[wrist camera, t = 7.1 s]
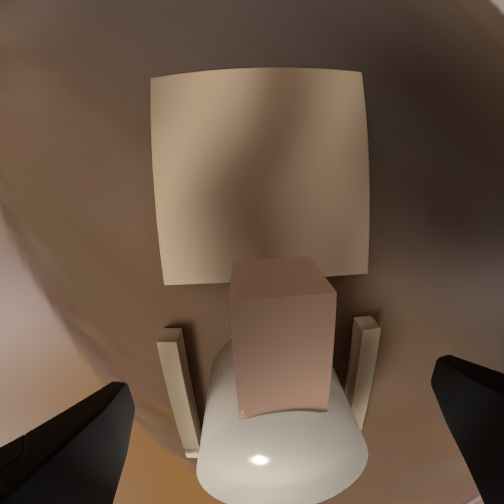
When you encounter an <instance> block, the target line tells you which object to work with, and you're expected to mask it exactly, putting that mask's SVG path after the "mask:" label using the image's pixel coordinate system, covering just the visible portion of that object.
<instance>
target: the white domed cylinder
mask: <svg viewBox="0 0 504 504" xmlns="http://www.w3.org/2000/svg"><path fill="white" fill-rule="evenodd" d="M336 301H337V292H336V291H335V289H334V288H333V287H332V285H331V284H330V283H329V281H328V280H327V279H326V278H325V276H324V275H323V274H322V272H321V271H320V270H319V268H318V267H317V266H316V265H315V263H314V262H313V261H312V259H311V258H310V257H309V256H306V257H289V258H271V259H253V260H235V261H233V266H232V273H231V280H230V288H229V295H228V307H229V318H230V329H231V340H230V341H229V342H228V343H227V344H225V345H224V347H223V348H222V349H221V350H220V351H219V353H218V354H217V356H216V358H215V360H214V362H213V365H212V369H211V375H210V382H209V388H208V394H207V401H206V407H205V414H204V421H203V427H202V434H201V441H200V448H199V455H198V462H197V477H198V480H199V482H200V484H201V485H202V487H203V488H204V489H205V490H206V491H207V492H208V493H209V494H210V495H212V496H213V497H214V498H216V499H218V500H220V501H222V502H224V503H226V504H317V503H320V502H322V501H325V500H327V499H329V498H331V497H333V496H335V495H337V494H338V493H340V492H342V491H343V490H345V489H346V488H347V487H349V486H350V485H351V484H352V483H353V482H354V481H355V480H356V479H357V478H358V477H359V476H360V475H361V473H362V471H363V470H364V468H365V466H366V464H367V460H368V449H367V446H366V443H365V441H364V438H363V436H362V433H361V431H360V429H359V426H358V424H357V421H356V419H355V417H354V414H353V412H352V410H351V407H350V405H349V403H348V400H347V398H346V396H345V393H344V391H343V389H342V386H341V384H340V382H339V379H338V377H337V375H336V372H335V370H334V368H333V366H332V361H333V349H334V335H335V320H336Z"/></svg>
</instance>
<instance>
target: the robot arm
mask: <svg viewBox="0 0 504 504" xmlns="http://www.w3.org/2000/svg"><path fill="white" fill-rule="evenodd" d="M431 385H432V388H433V391H434V393H435V396H436V398H437V400H438V403H439V405H440V408H441V411H442V413H443V416H444V418H445V421H446V423H447V425H448V427H449V429H450V431H451V433H452V435H453V437H454V439H455V441H456V443H457V445H458V447H459V449H460V451H461V453H462V455H463V457H464V460H465V462H466V464H467V466H468V468H469V470H470V472H471V475H472V477H473V479H474V481H475V483H476V486H477V488H478V490H479V493H480V495H481V497H482V500H483V502H484V504H504V374H503V373H500V372H498V371H495V370H492V369H489V368H486V367H483V366H480V365H477V364H475V363H472V362H469V361H466V360H463V359H460V358H458V357H455V356H452V355H446V356H442V357H439V358H438V359H437V361H436V364H435V368H434V371H433V375H432V378H431ZM134 413H135V406H134V402H133V399H132V396H131V393H130V390H129V387H128V385H127V384H126V383H125V382H111V383H110V384H108V385H106V386H105V387H103V388H102V389H100V390H98V391H97V392H95V393H94V394H92V395H90V396H88V397H87V398H85V399H84V400H82V401H80V402H79V403H77V404H75V405H74V406H72V407H70V408H69V409H67V410H65V411H64V412H62V413H60V414H59V415H57V416H55V417H53V418H52V419H50V420H48V421H47V422H45V423H43V424H42V425H40V426H38V427H37V428H35V429H33V430H31V431H29V432H28V433H26V434H25V435H22V436H21V437H19V438H17V439H15V440H14V441H12V442H10V443H8V444H6V445H4V446H2V447H0V504H113V500H114V497H115V493H116V490H117V486H118V483H119V479H120V476H121V472H122V469H123V466H124V462H125V459H126V455H127V451H128V446H129V439H130V434H131V429H132V423H133V418H134Z"/></svg>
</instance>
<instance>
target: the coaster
mask: <svg viewBox="0 0 504 504" xmlns="http://www.w3.org/2000/svg"><path fill="white" fill-rule="evenodd" d="M151 139H152V162H153V179H154V193H155V206H156V217H157V227H158V237H159V246H160V255H161V263H162V271H163V279H164V285H181V284H206V283H228V282H230V280H231V273H232V266H233V261H235V260H253V259H271V258H289V257H306V256H309V257H310V258H311V259H312V261H313V262H314V263H315V265H316V266H317V267H318V268H319V270H320V271H321V272H322V274H323V275H324V276H325V277H329V276H343V275H356V274H368V257H369V227H370V181H369V152H368V134H367V120H366V108H365V97H364V88H363V79H362V72H355V71H345V70H333V69H316V68H240V69H224V70H211V71H201V72H192V73H183V74H176V75H169V76H162V77H156V78H151Z"/></svg>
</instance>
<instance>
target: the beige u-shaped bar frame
mask: <svg viewBox="0 0 504 504" xmlns="http://www.w3.org/2000/svg"><path fill="white" fill-rule="evenodd" d="M380 331H381V327H380V326H379V325H378V324H377V322H376V321H375V320H374V319H373V318H372V317H371V315H370V316H361V317H353V329H352V339H351V348H350V357H349V365H348V373H347V380H346V387H345V396H346V398H347V400H348V403H349V405H350V407H351V410H352V412H353V414H354V417H355V419H356V421H357V424H358V426H359V429H360V431H361V430H362V426H363V422H364V418H365V414H366V409H367V405H368V400H369V395H370V391H371V386H372V380H373V375H374V370H375V364H376V358H377V352H378V345H379V339H380ZM157 346H158V351H159V356H160V360H161V365H162V369H163V373H164V378H165V382H166V386H167V390H168V394H169V398H170V402H171V406H172V409H173V413H174V417H175V420H176V424H177V427H178V431H179V434H180V437H181V441H182V444H183V447H184V451H185V454H186V457H187V458H198V455H199V448H200V441H201V434H202V431H201V426H200V422H199V417H198V413H197V408H196V403H195V398H194V393H193V388H192V383H191V378H190V372H189V367H188V361H187V356H186V350H185V344H184V338H183V332H182V328H163V330H162V332H161V334H160V336H159V338H158V340H157Z"/></svg>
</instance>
